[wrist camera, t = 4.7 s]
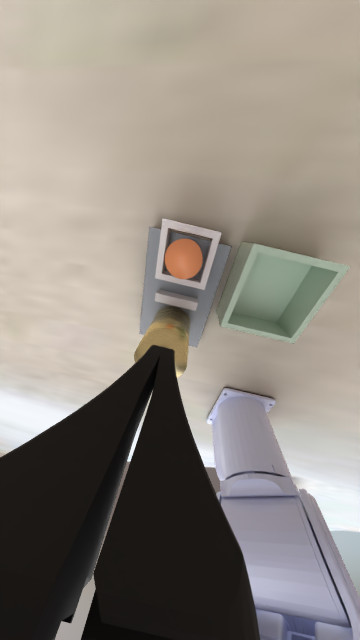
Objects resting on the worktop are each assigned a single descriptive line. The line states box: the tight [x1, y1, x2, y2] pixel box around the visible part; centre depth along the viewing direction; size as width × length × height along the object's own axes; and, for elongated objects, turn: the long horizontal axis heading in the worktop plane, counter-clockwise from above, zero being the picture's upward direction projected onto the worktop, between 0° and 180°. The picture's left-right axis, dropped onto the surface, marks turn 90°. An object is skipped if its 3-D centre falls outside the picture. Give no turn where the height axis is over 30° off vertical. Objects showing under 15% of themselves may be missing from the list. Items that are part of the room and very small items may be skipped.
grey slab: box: [139, 218, 232, 347], centre depth 15 cm, size 13×7×3 cm, turn 168°
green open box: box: [216, 242, 350, 344], centre depth 14 cm, size 7×7×4 cm
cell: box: [134, 306, 190, 377], centre depth 14 cm, size 4×4×7 cm
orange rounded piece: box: [165, 239, 203, 279], centre depth 11 cm, size 3×3×2 cm
